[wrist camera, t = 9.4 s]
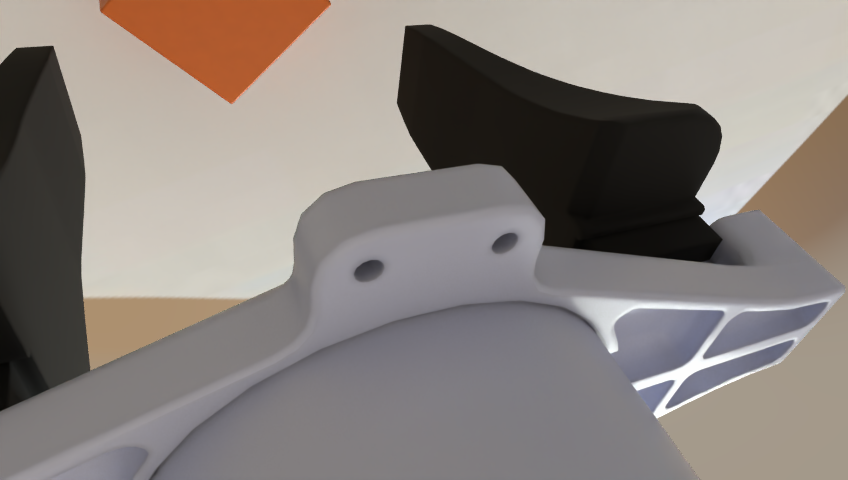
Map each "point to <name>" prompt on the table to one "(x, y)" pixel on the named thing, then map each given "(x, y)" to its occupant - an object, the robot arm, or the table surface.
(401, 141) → the table surface
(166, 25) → the cube
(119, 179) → the table surface
